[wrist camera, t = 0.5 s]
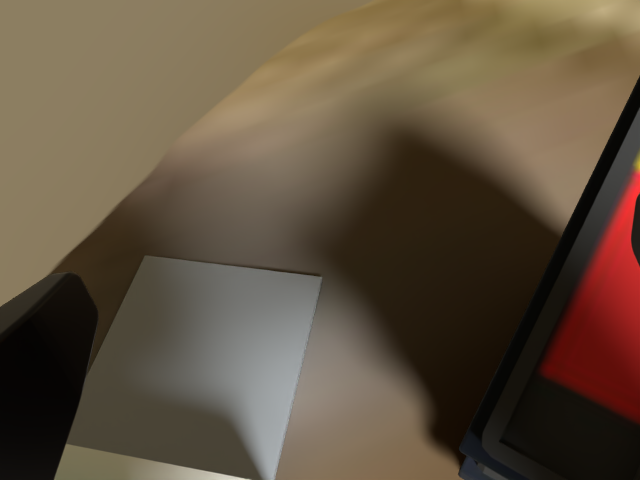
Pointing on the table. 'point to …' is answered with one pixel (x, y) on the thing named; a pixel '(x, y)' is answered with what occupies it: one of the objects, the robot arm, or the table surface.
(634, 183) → the black stepped slab
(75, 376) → the robot arm
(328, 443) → the table surface
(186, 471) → the white flat block
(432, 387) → the table surface
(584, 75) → the table surface
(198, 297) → the mat
